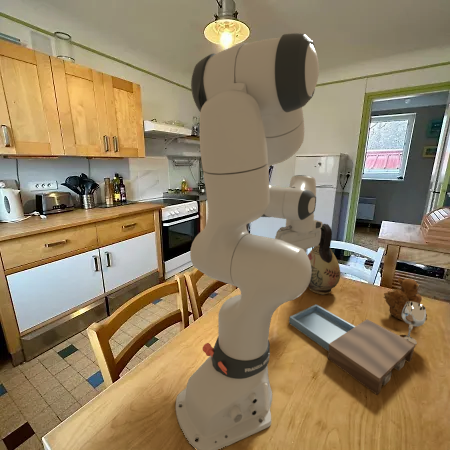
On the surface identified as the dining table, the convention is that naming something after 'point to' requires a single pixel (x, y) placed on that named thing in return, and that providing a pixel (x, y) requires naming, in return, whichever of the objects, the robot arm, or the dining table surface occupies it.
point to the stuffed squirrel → (402, 296)
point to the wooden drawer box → (370, 354)
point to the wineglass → (413, 317)
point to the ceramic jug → (323, 264)
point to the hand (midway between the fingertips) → (296, 261)
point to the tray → (320, 325)
